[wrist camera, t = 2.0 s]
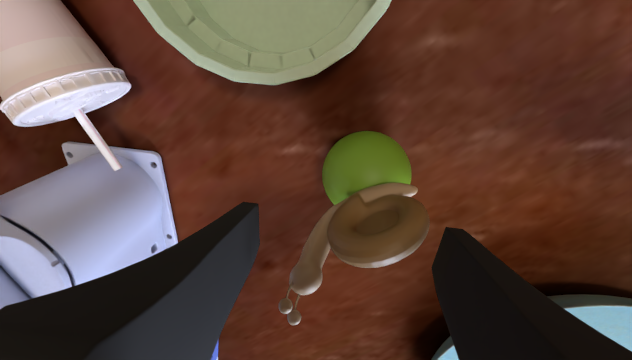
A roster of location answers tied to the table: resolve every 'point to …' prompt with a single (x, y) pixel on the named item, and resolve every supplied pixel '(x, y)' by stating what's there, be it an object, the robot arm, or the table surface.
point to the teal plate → (582, 319)
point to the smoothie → (53, 69)
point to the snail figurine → (361, 212)
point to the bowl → (263, 34)
